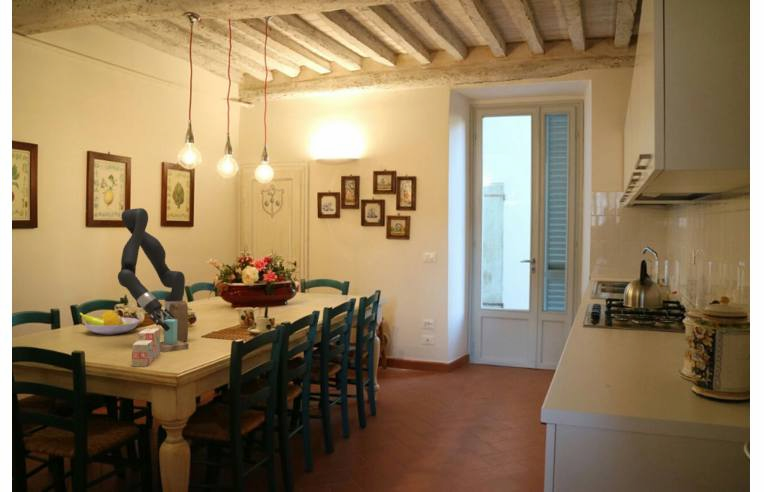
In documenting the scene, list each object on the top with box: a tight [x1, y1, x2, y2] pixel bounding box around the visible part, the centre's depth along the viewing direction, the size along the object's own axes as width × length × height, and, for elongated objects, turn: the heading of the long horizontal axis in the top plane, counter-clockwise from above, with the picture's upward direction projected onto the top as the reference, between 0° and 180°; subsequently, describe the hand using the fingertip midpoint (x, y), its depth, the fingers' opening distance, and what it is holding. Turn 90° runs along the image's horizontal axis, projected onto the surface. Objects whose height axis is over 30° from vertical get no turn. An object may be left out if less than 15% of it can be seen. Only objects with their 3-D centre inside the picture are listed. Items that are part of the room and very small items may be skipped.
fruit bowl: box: [78, 310, 140, 336], centre depth 305 cm, size 28×27×11 cm
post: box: [163, 319, 177, 345], centre depth 269 cm, size 4×4×11 cm
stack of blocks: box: [131, 327, 161, 367], centre depth 246 cm, size 21×6×12 cm, turn 8°
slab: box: [160, 340, 189, 353], centre depth 270 cm, size 12×12×3 cm
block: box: [169, 300, 189, 343], centre depth 286 cm, size 11×8×20 cm
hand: (172, 328), depth 269 cm, fingers open, 8 cm apart
